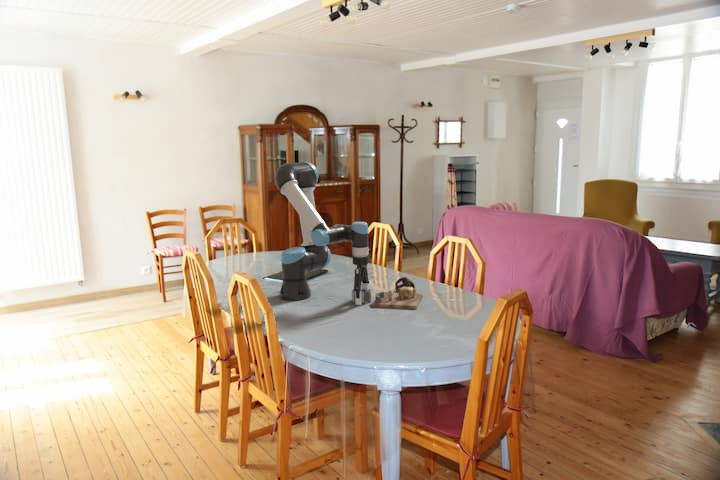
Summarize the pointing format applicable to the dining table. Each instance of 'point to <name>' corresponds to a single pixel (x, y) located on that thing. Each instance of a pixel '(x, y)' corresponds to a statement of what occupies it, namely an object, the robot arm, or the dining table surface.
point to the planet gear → (363, 295)
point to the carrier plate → (398, 299)
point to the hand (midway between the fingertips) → (361, 300)
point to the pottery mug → (404, 283)
